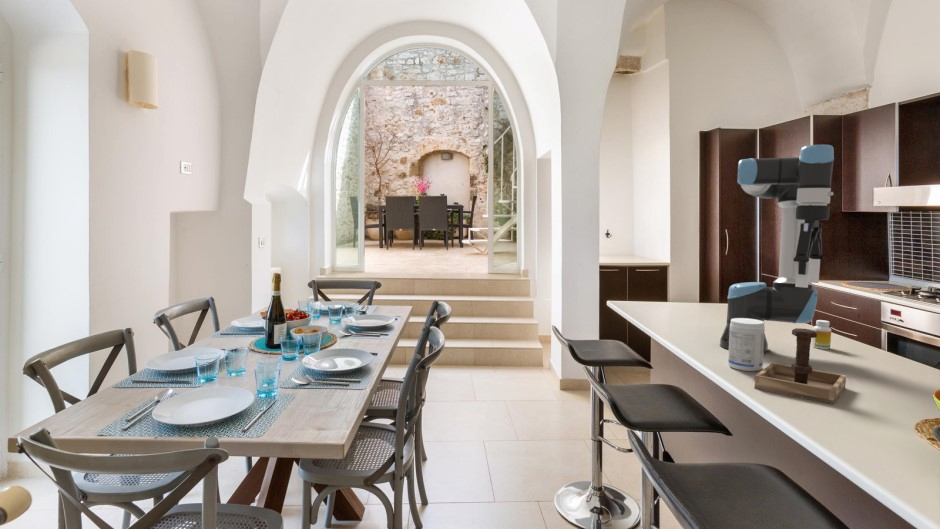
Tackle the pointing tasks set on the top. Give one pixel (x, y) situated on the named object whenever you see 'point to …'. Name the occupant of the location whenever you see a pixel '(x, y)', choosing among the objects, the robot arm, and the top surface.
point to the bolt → (802, 354)
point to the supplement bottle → (822, 335)
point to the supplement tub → (746, 344)
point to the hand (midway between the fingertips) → (807, 284)
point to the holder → (817, 388)
